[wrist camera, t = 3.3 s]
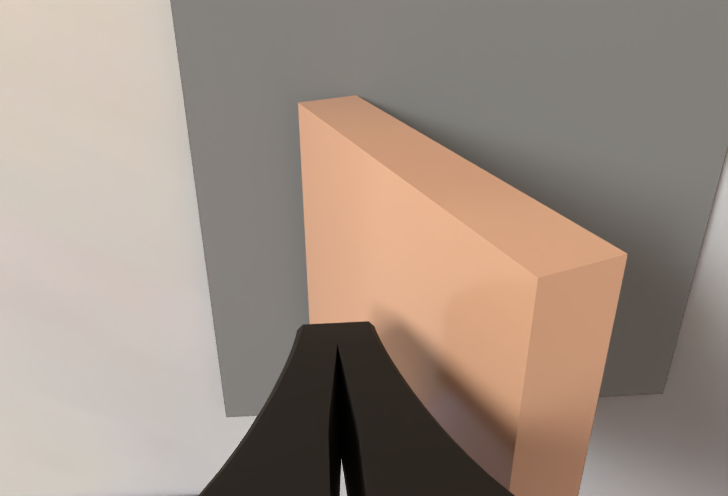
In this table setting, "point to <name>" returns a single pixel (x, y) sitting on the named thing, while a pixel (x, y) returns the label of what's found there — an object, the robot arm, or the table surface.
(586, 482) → the table surface
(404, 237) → the tile
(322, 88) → the mat
